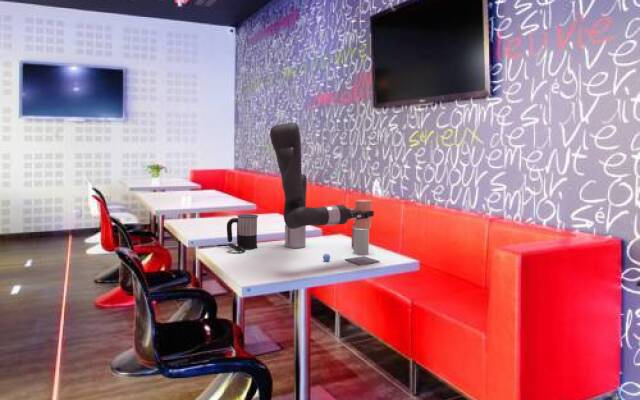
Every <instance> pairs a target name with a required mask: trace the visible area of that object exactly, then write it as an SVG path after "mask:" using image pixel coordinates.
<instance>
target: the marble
mask: <svg viewBox="0 0 640 400" xmlns="http://www.w3.org/2000/svg"><path fill="white" fill-rule="evenodd" d="M322 259H323V261H324V262H328V261H330V259H331V255H330V254H329V253H324V254H323V256H322Z"/></svg>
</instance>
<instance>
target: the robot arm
mask: <svg viewBox="0 0 640 400" xmlns="http://www.w3.org/2000/svg"><path fill="white" fill-rule="evenodd" d="M269 131H270V132H269V135H270V136H269V137H270V142H271V144H272V147H273V150H274V153H275V155H276V157H275V158H276V162H277V165H278V166H277V167H278V170H279V173H280V177H281V184H282V190H283V192H284V204H283V220H284V224H285V225H284V245H285V247H286V248H288V249H289V248H290V249H300V248H305V247H306V245H307V244H306V238H307V237H306V233H307V229H306V228H307V227H306V226H314V227H317V226H318V227H320V226H337V225H345V224H346V223H348V221H349V220H355V219H357V220H359V219H367V218H368V217H371V218H372V217H374V215H375V212H374V210H371V211H361V210H355V208H351V207H350V208H349V207H348V208H347V206H346V205H345V204H336V205H326V206H316V207H315V206H314V207H312V206H311V207H310V206H307V204H306V203H307V199H306V198H307V186H308V184H307V183H308V181H307V176H306V175H305V174H303V173H302V143H301V142H302V141H301V131H300V127H299V126H298V123H296V122H289V123H282V124H276V125H275V124H274V125H273V126H271V128H270V130H269ZM357 212H358V213H357Z"/></svg>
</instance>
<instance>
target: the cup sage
mask: <svg viewBox="0 0 640 400" xmlns="http://www.w3.org/2000/svg"><path fill="white" fill-rule="evenodd" d="M369 247H370V229H357V228H355V229H354V248H353V254H354V255H357V256H359V255H360V256H366V255H369V249H370V248H369Z"/></svg>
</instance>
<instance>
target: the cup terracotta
mask: <svg viewBox="0 0 640 400" xmlns="http://www.w3.org/2000/svg"><path fill="white" fill-rule="evenodd" d="M354 209H355V210H361V211H372V200H371V199H355V201H354ZM357 213H358V212H357ZM354 222H355V228H357V229H369V230H370V229H371V227H372V225H371V224H372V217H368V218H367V219H359V220H357V219H354Z"/></svg>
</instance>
